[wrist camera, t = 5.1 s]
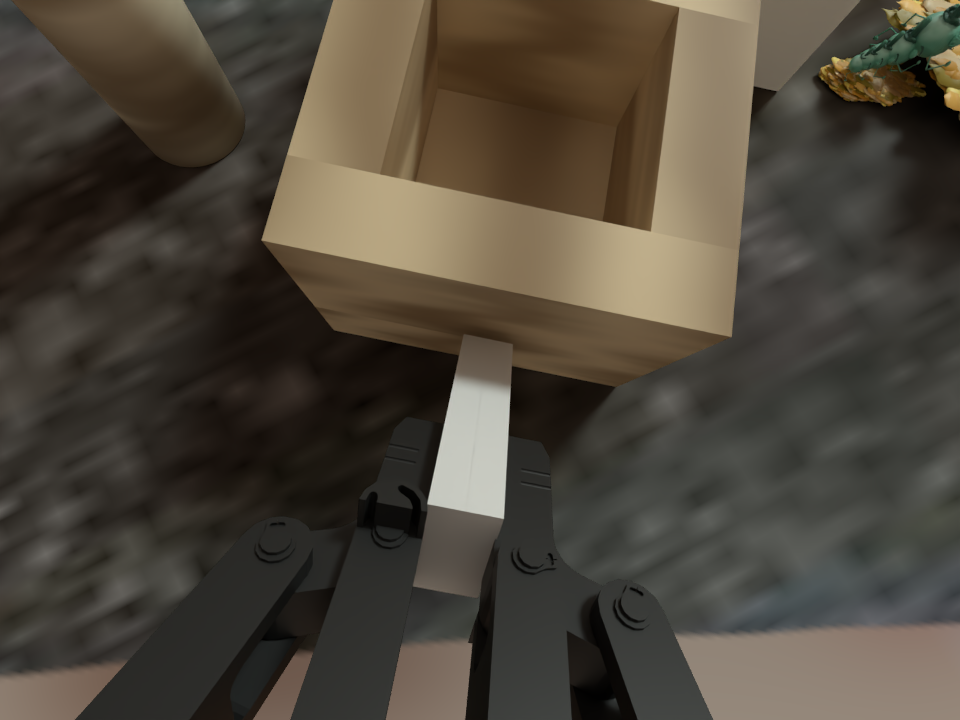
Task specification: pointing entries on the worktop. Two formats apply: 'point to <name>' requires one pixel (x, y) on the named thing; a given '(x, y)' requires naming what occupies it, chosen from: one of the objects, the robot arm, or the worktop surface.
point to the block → (525, 177)
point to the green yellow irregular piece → (904, 57)
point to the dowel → (148, 72)
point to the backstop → (793, 35)
